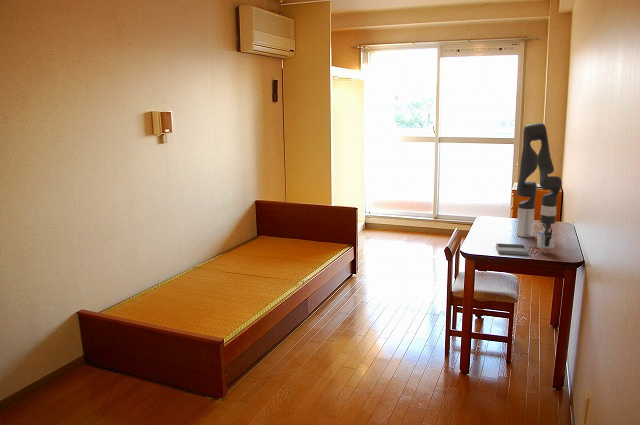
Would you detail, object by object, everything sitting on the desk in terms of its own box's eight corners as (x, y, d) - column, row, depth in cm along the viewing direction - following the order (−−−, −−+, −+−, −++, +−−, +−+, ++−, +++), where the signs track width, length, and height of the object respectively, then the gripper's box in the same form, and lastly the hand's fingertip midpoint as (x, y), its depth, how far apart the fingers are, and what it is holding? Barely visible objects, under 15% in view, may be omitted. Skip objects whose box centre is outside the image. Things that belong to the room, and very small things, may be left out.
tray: (495, 247, 295) (496, 243, 294) (524, 248, 291) (524, 244, 291) (498, 254, 281) (498, 250, 280) (528, 255, 277) (528, 251, 277)
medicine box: (550, 246, 284) (552, 230, 283) (554, 248, 280) (556, 232, 278) (536, 246, 284) (537, 231, 282) (540, 248, 280) (541, 233, 278)
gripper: (538, 211, 286) (536, 241, 289) (543, 216, 272) (540, 248, 276) (553, 211, 284) (550, 241, 288) (558, 216, 271) (556, 248, 274)
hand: (545, 244), depth 282 cm, fingers closed on medicine box, 5 cm apart
